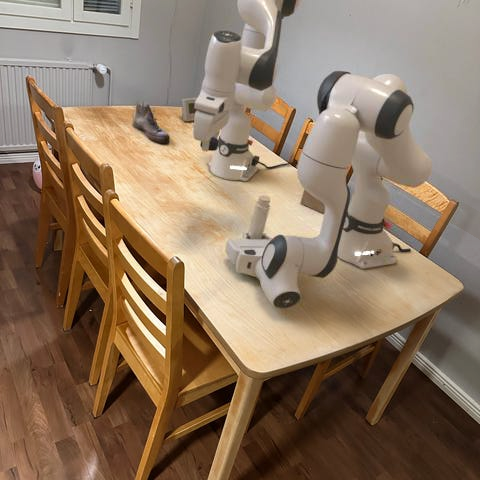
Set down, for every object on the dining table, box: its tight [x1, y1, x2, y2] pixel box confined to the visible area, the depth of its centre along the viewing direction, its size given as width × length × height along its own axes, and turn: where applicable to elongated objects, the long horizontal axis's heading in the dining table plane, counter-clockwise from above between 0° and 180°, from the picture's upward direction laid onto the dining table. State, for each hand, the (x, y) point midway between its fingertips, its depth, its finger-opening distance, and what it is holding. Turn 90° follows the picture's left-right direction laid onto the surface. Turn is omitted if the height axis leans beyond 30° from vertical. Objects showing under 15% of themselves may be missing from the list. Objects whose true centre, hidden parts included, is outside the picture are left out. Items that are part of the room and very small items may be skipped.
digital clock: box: [181, 96, 199, 123], centre depth 223 cm, size 16×9×11 cm, turn 123°
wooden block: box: [300, 188, 325, 214], centre depth 165 cm, size 10×10×20 cm
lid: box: [199, 137, 219, 152], centre depth 124 cm, size 5×5×2 cm
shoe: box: [132, 101, 171, 145], centre depth 195 cm, size 25×11×12 cm, turn 30°
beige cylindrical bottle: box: [247, 194, 271, 239], centre depth 130 cm, size 4×4×18 cm
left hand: (208, 147), depth 124 cm, fingers closed on lid, 4 cm apart
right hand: (253, 234), depth 132 cm, fingers closed on beige cylindrical bottle, 4 cm apart
